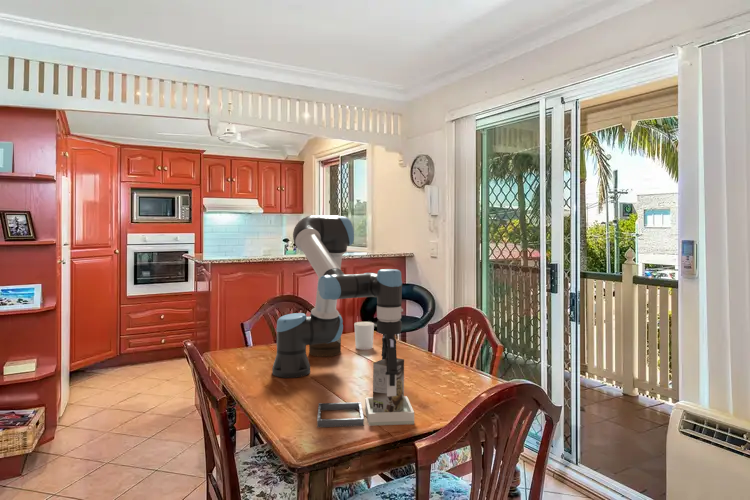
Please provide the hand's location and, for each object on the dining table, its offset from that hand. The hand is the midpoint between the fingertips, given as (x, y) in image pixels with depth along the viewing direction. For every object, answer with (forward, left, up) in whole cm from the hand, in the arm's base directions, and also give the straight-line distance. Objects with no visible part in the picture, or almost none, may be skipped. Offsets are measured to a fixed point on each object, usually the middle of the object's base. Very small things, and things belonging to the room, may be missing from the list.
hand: (388, 388), depth 142 cm
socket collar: (-15, 0, -9) cm, 17 cm away
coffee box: (0, 0, -8) cm, 8 cm away
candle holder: (-2, +85, -9) cm, 85 cm away
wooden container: (-21, +77, -9) cm, 80 cm away
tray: (0, 0, -9) cm, 9 cm away
